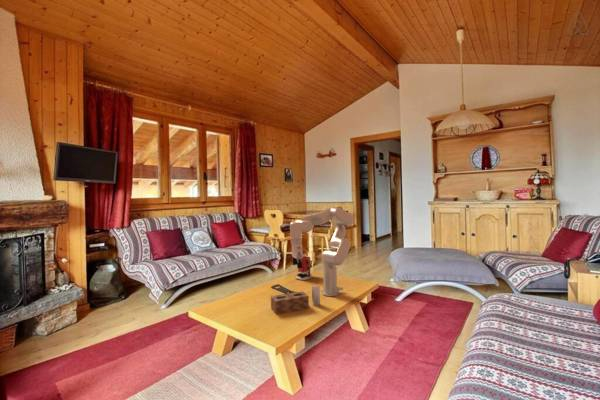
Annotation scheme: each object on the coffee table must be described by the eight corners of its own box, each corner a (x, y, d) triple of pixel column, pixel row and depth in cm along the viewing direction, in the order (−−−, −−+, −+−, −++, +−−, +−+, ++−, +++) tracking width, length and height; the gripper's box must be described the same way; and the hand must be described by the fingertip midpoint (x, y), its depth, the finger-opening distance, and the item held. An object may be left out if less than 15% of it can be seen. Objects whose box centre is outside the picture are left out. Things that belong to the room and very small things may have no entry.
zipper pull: (278, 283, 226) (304, 290, 209) (278, 292, 226) (304, 299, 210) (269, 286, 219) (295, 293, 203) (269, 295, 219) (295, 303, 203)
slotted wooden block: (303, 303, 203) (302, 291, 202) (308, 308, 193) (308, 296, 193) (271, 308, 195) (270, 296, 194) (275, 314, 185) (275, 301, 185)
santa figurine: (306, 274, 273) (305, 246, 272) (317, 277, 262) (316, 248, 261) (291, 278, 262) (290, 249, 261) (302, 281, 251) (301, 251, 250)
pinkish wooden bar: (318, 303, 201) (318, 285, 201) (320, 304, 199) (319, 286, 199) (312, 304, 200) (312, 286, 199) (313, 305, 198) (313, 287, 197)
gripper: (306, 242, 193) (307, 268, 194) (297, 238, 209) (298, 262, 210) (294, 243, 190) (296, 270, 191) (287, 239, 207) (288, 264, 208)
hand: (297, 266), depth 201 cm, fingers open, 9 cm apart
